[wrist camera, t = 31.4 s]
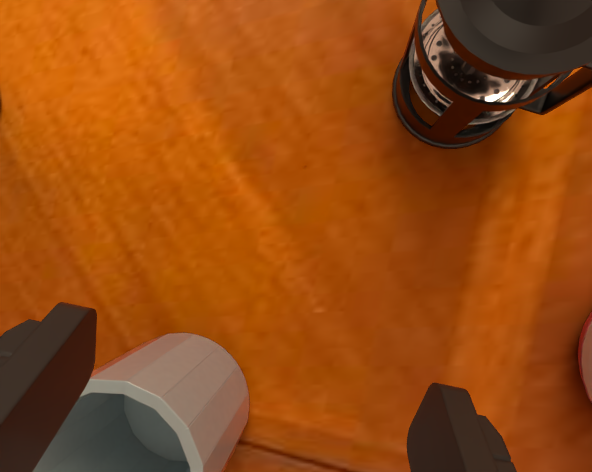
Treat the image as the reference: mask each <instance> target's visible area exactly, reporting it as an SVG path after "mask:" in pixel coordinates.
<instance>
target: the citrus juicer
mask: <svg viewBox="0 0 592 472" xmlns="http://www.w3.org/2000/svg"><path fill="white" fill-rule="evenodd" d="M578 361H579V370H580V375H581V378H582V381H583V384H584V387H585V390H586V393H587V396H588V398H589V400H590V402H591V403H592V312H591V313H590V315H589V317H588V318H587V320H586V322H585V324H584V326H583V329H582V332H581V335H580V338H579V346H578Z"/></svg>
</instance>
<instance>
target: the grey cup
mask: <svg viewBox="0 0 592 472" xmlns="http://www.w3.org/2000/svg"><path fill="white" fill-rule="evenodd" d="M248 414H249V392H248V387H247V383H246V380H245V377H244V375H243V373H242V371H241V369H240V367H239V366H238V364H237V362H236V361H235V360H234V359H233V357H232V356H231V355H230V354H229V353H228V352H227V351H226V350H225V349H224V348H222V347H221V346H220V345H218V344H217V343H215V342H214V341H212V340H210V339H208V338H205V337H203V336H200V335H196V334H191V333H172V334H166V335H163V336H160V337H157V338H155V339H153V340H150V341H148V342H145V343H143V344H141V345H140V346H138V347H136V348H134V349H132V350H131V351H129V352H127V353H125V354H123V355H121V356H120V357H118V358H116V359H114V360H112V361H111V362H109V363H107V364H105V365H103V366H102V367H100V368H98V369H96V370H94V371H93V372H92V374H91V377H90V379H89V382H88V384H87V386H86V387H85V389H84V391H83V392H82V394H81V395H80V397H79V399H78V400H77V402H76V403H75V405H74V407H73V408H72V410H71V411H70V413H69V415H68V416H67V418H66V419H65V421H64V423H63V424H62V426H61V427H60V429H59V430H58V432H57V434H56V435H55V437H54V438H53V440H52V442H51V443H50V445H49V446H48V448H47V450H46V451H45V453H44V454H43V456H42V458H41V459H40V461H39V462H38V464H37V466H36V467H35V469H34V470H33V472H224V470H225V468H226V466H227V464H228V462H229V460H230V458H231V456H232V454H233V453H234V451H235V449H236V447H237V445H238V442H239V440H240V438H241V435H242V433H243V431H244V429H245V426H246V424H247V421H248Z"/></svg>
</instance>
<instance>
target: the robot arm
mask: <svg viewBox="0 0 592 472" xmlns="http://www.w3.org/2000/svg"><path fill="white" fill-rule="evenodd" d="M96 322H97V314H96V310H95V309H92V308H87V307H82V306H78V305H73V304H68V303H63V302H61V303H58V304H57V305H56V306H55V307H54V308H53V309H52V310H51V311H50V313H49V314H48V315H47V316H46V317H45V318H44V319H43V320H42V321H41V322H40V321H35V320H30V319H29V320H27V321H25V322H23V323H21V324H19V325H18V326H16V327H14V328H12V329H10V330H8V331H6V332H5V333H4V334H3V335H2V336H1V337H0V472H33V470H34V469H35V467H36V466H37V464H38V462H39V461H40V459H41V458H42V456H43V454H44V453H45V451H46V450H47V448H48V446H49V445H50V443H51V442H52V440H53V438H54V437H55V435H56V434H57V432H58V430H59V429H60V427H61V426H62V424H63V423H64V421H65V419H66V418H67V416H68V415H69V413H70V411H71V410H72V408H73V407H74V405H75V403H76V402H77V400H78V399H79V397H80V395H81V394H82V392H83V391H84V389H85V387H86V386H87V384H88V382H89V379H90V377H91V374H92V371H93V368H94V363H95V348H96ZM407 453H408V459H409V464H410V469H411V472H517V471H516V469H515V467H514V464H513V463H512V462H511V457H510V455H509V452H508V450H507V448H506V445H505V443H504V441H503V438H502V436H501V435H500V434H499V433H498V431H497V430H496V429H495V428H494V426H493V425H492V424H491V423H490V421H489V420H488V419H487V418H486V416H482V415H477V413H476V410H475V408H474V405H473V403H472V400H471V397H470V395H469V393H468V391H467V390H465V389H463V388H458V387H453V386H448V385H444V384H439V383H432V384H431V385H430V386H429V388H428V390H427V392H426V394H425V396H424V398H423V400H422V402H421V404H420V407H419V409H418V411H417V413H416V415H415V417H414V419H413V421H412V423H411V425H410V428H409V432H408V437H407Z"/></svg>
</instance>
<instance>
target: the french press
mask: <svg viewBox="0 0 592 472" xmlns="http://www.w3.org/2000/svg"><path fill="white" fill-rule="evenodd" d="M426 2H427V0H422V1H421V4H420V7H419V10H418V13H417V16H416V19H415V22H414V26H413V29H412V32H411V35H410V38H409V41H408V44H407V47H406V50H405V53H404V56H403V58H402V59H401V61H400V63H399V65H398V67H397V69H396V72H395V76H394V80H393V88H392V97H393V103H394V107H395V110H396V113H397V116H398V118H399V119H400V121H401V122H402V124H403V126H404V127H405V128H406V129H407V130H408V131H409V132H410V133H411V134H412V135H413V136H415V137H416V138H417V139H419V140H420V141H422V142H424V143H427V144H429V145H431V146H435V147H439V148H448V149H457V148H463V147H468V146H471V145H473V144H476V143H479V142H480V141H482V140H484V139H485V138H487V137H489V136H490V135H491V134H492V133H494V132H495V131H496V130H497V129H498V128H499V127H500V126H501V124H502V123H503V122H504V121H506V120H507V119H508V118H509V117H510V116H511V115H512V113H513V112H514V111H515V109H517V108H520V109H523V110H527V111H530V112H533V113H536V114H540V115H544V114H547V113H548V112H550V111H552V110H553V109H555V108H557V107H559V106H560V105H562V104H564V103H565V102H567V101H569V100H571V99H572V98H574V97H576V96H577V95H579V94H581V93H583V92H584V91H586V90H588V89H589V88H591V87H592V0H436V5H437V7H438V9H437V10H435V11H434V12H433V13H432V14H431V15H430V16H429V17H428V18H427V19H426V20H425V21H424V22H423V24H422V25H421V22H422V13H423V10H424V7H425V5H426ZM580 67H583V68H581V69H580V70H578V71H577V72H576V73H574V74H573V75H571V76H570V77H568V76H569V75H570V73H571V72H572V71H573V70H574V69H577V68H580ZM557 77H558V78H557ZM567 77H568V78H567ZM556 78H557V79H556ZM565 78H567V79H565ZM410 79H411V80H412V83H413V86H414V89H415V91H416V92H417V94H418V95H419V97H420V99H421V100H422V101H423V102H424V103H425V104H426V106H427V107H428V108H429V109H430V110H432V111H433V112H434V113H436V114H437V115H439V116H440V118H439V119H438V120H437V121H436V122H435V124H434V125H433V126H430V125H429V124H428V123H426V122H425V121H423V120H422V119H421V117H420V116H419V115H418V114H417V112H416V111H415V109H414V108H413V105H412V102H411V100H410V93H409V84H410ZM555 79H556V80H555ZM564 79H565V80H564ZM553 80H555V82H554V83H552V84H551V85H550V86H549V87H548V88H547V89H544V87H545V86H546V85H548V84H549V83H551V82H552V81H553ZM563 80H564V81H563ZM562 81H563V82H562ZM468 124H477V125H475V126H474V127H471V128H468V129H466V130H462V129H463V128H465V127H466V126H467V125H468Z"/></svg>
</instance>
